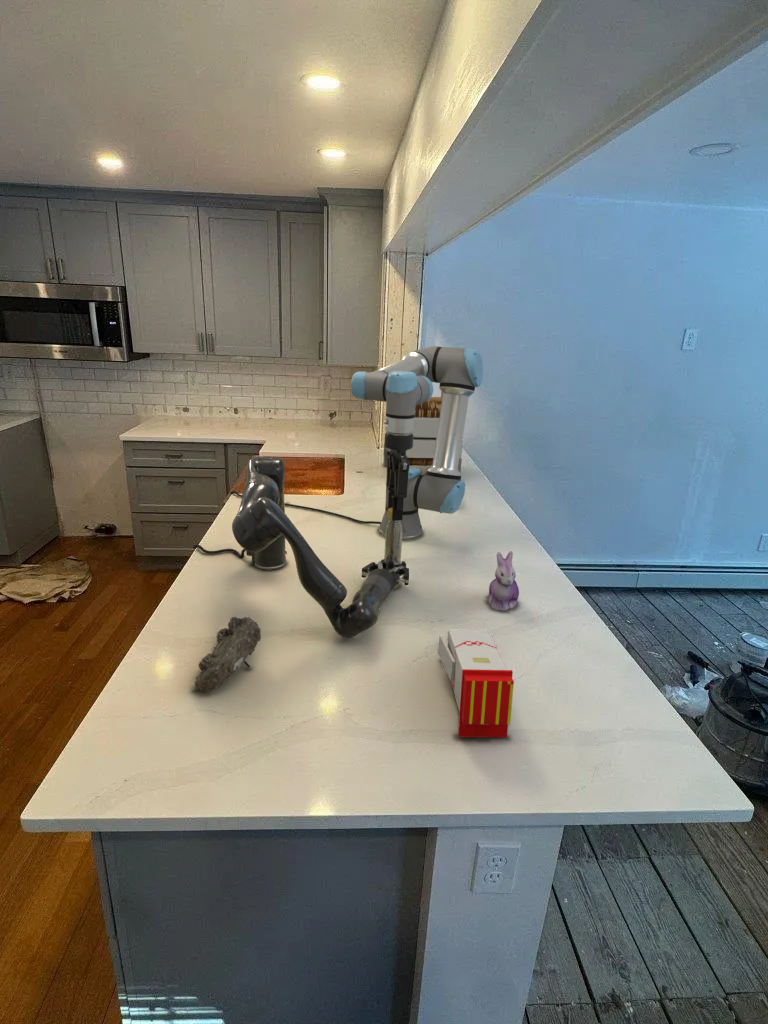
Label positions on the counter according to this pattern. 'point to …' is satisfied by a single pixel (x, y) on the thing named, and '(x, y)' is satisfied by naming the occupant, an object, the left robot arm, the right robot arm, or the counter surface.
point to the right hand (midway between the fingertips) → (394, 516)
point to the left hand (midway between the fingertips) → (394, 562)
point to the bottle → (393, 545)
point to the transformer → (424, 434)
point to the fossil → (228, 653)
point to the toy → (478, 682)
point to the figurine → (503, 584)
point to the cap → (390, 512)
